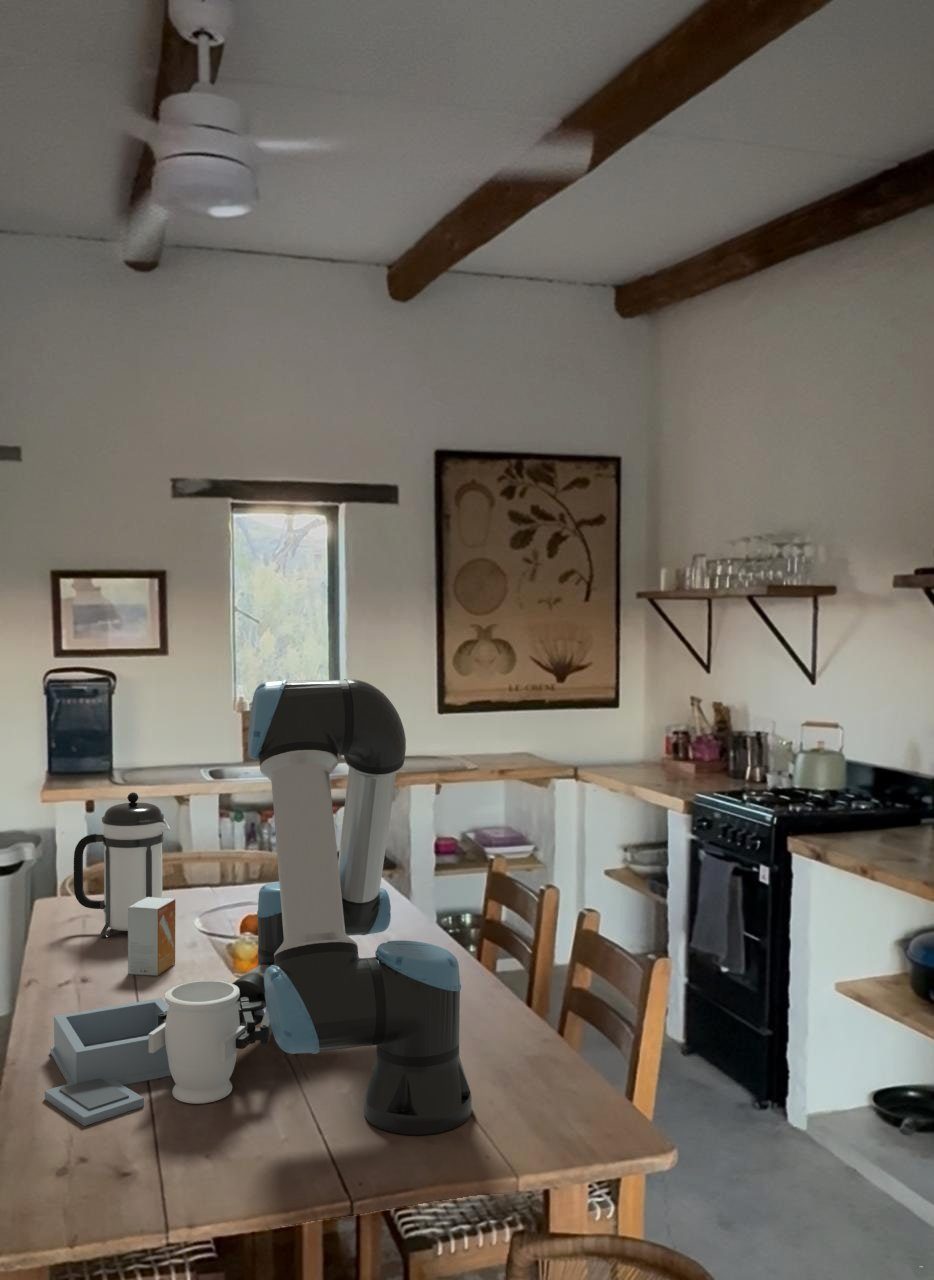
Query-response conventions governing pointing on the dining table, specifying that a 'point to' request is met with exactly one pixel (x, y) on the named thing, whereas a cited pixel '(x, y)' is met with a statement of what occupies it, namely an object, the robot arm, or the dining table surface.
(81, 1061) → the housing
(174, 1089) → the jar
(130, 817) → the coffee press
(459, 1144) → the dining table surface
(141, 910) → the small box
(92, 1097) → the lid
